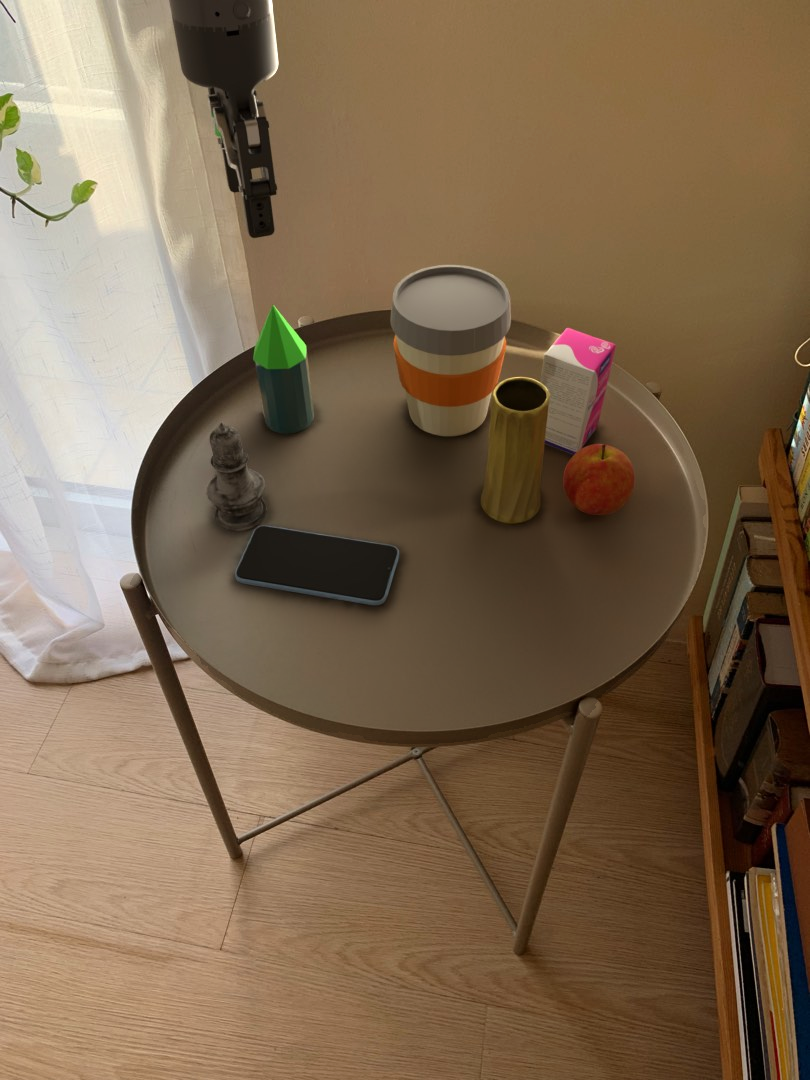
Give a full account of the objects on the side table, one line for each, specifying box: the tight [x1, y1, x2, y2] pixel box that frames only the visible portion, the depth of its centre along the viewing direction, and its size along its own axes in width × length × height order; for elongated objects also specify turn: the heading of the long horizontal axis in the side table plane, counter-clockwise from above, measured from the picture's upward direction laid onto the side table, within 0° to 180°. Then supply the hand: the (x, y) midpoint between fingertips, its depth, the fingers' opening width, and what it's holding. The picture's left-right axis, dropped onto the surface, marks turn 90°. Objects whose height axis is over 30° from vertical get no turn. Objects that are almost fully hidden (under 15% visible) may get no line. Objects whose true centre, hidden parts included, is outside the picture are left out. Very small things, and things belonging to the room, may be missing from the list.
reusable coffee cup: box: [390, 264, 512, 437], centre depth 96 cm, size 13×13×15 cm
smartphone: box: [234, 525, 400, 606], centre depth 86 cm, size 7×1×15 cm
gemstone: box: [252, 304, 307, 369], centre depth 92 cm, size 6×6×6 cm
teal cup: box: [252, 349, 315, 435], centre depth 98 cm, size 6×6×9 cm
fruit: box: [562, 443, 635, 516], centre depth 88 cm, size 7×7×8 cm
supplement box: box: [539, 327, 617, 456], centre depth 94 cm, size 6×6×12 cm
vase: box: [480, 376, 550, 525], centre depth 86 cm, size 6×6×14 cm
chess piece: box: [205, 422, 268, 532], centre depth 87 cm, size 6×6×12 cm
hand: (251, 211), depth 78 cm, fingers open, 8 cm apart
